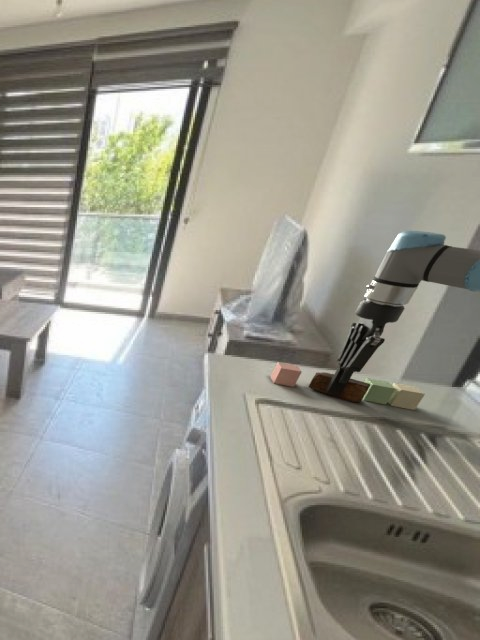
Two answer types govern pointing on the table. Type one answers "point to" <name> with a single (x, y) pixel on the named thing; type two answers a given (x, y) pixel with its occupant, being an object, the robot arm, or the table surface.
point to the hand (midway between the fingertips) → (333, 392)
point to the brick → (351, 391)
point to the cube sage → (378, 391)
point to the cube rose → (285, 374)
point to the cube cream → (405, 396)
